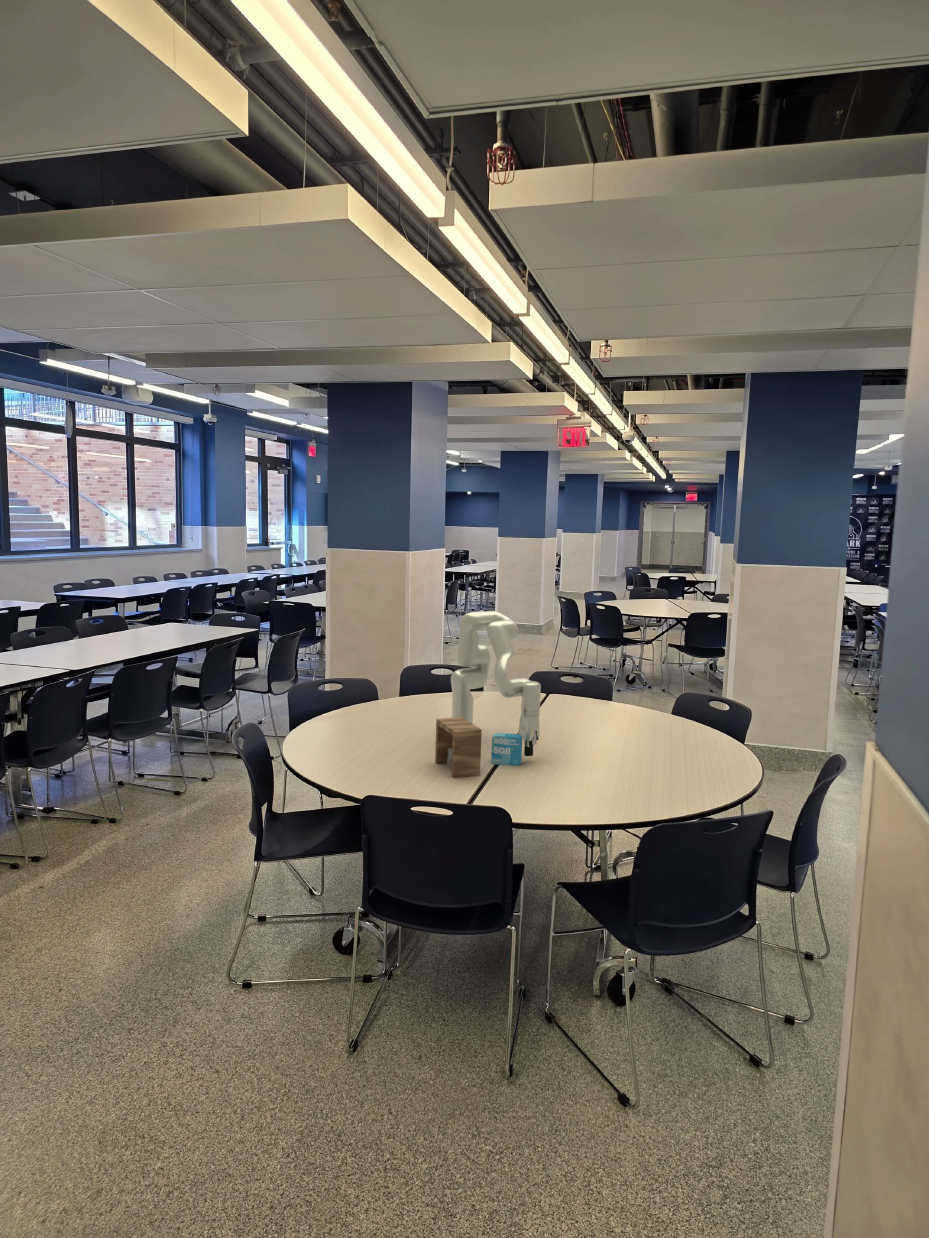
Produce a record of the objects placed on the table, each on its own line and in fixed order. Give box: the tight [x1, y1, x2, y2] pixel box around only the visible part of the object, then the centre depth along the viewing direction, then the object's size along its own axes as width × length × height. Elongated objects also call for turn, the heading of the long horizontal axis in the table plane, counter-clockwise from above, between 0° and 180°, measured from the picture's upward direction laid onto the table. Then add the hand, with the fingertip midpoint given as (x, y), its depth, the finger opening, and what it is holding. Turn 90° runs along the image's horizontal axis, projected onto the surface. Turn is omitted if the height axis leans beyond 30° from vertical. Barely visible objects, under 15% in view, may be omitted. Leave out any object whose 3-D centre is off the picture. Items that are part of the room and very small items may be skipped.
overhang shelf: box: [434, 717, 483, 779], centre depth 289 cm, size 20×11×18 cm, turn 23°
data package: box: [490, 732, 523, 766], centre depth 298 cm, size 12×4×12 cm, turn 82°
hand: (528, 755), depth 302 cm, fingers closed
